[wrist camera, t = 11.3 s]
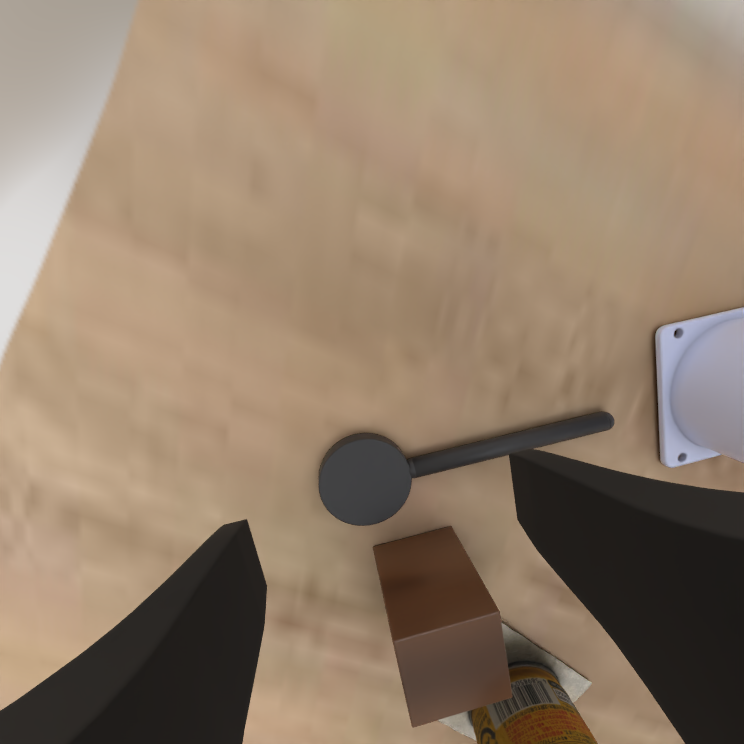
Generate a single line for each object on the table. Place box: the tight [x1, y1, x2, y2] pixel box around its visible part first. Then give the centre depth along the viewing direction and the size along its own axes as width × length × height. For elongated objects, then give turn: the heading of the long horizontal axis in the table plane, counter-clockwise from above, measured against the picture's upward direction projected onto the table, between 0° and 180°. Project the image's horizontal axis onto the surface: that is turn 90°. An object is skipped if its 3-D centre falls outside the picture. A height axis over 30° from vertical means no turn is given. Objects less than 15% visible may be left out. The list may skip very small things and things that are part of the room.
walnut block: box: [373, 526, 512, 728], centre depth 19 cm, size 4×4×6 cm
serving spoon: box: [319, 412, 614, 526], centre depth 20 cm, size 16×5×1 cm, turn 101°
